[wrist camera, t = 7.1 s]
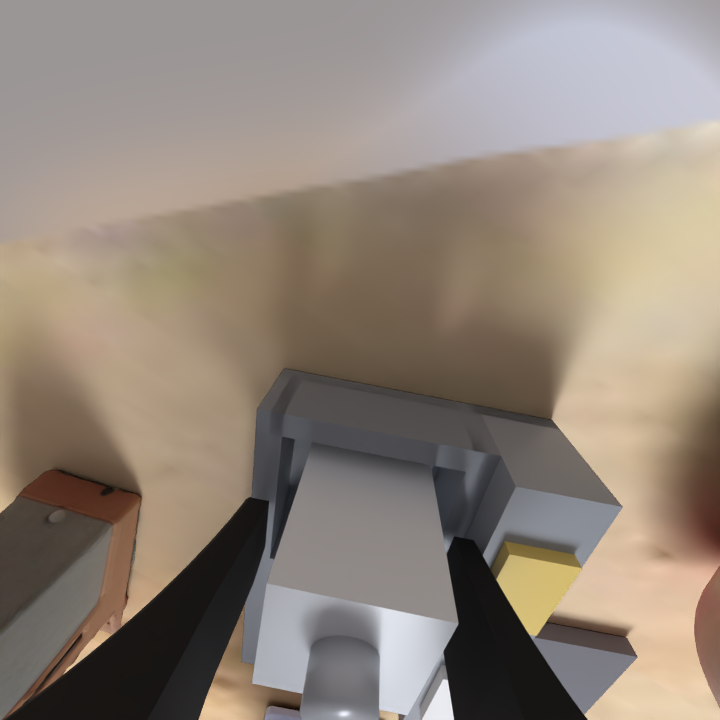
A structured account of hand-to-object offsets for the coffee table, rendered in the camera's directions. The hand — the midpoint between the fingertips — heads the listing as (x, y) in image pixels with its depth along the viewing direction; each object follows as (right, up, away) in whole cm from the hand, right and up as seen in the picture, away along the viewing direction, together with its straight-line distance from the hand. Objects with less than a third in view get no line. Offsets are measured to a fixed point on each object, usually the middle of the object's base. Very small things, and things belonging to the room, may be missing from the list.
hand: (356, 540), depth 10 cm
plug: (0, +1, +3) cm, 3 cm away
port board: (+1, -2, +5) cm, 5 cm away
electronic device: (-13, -4, +7) cm, 16 cm away
